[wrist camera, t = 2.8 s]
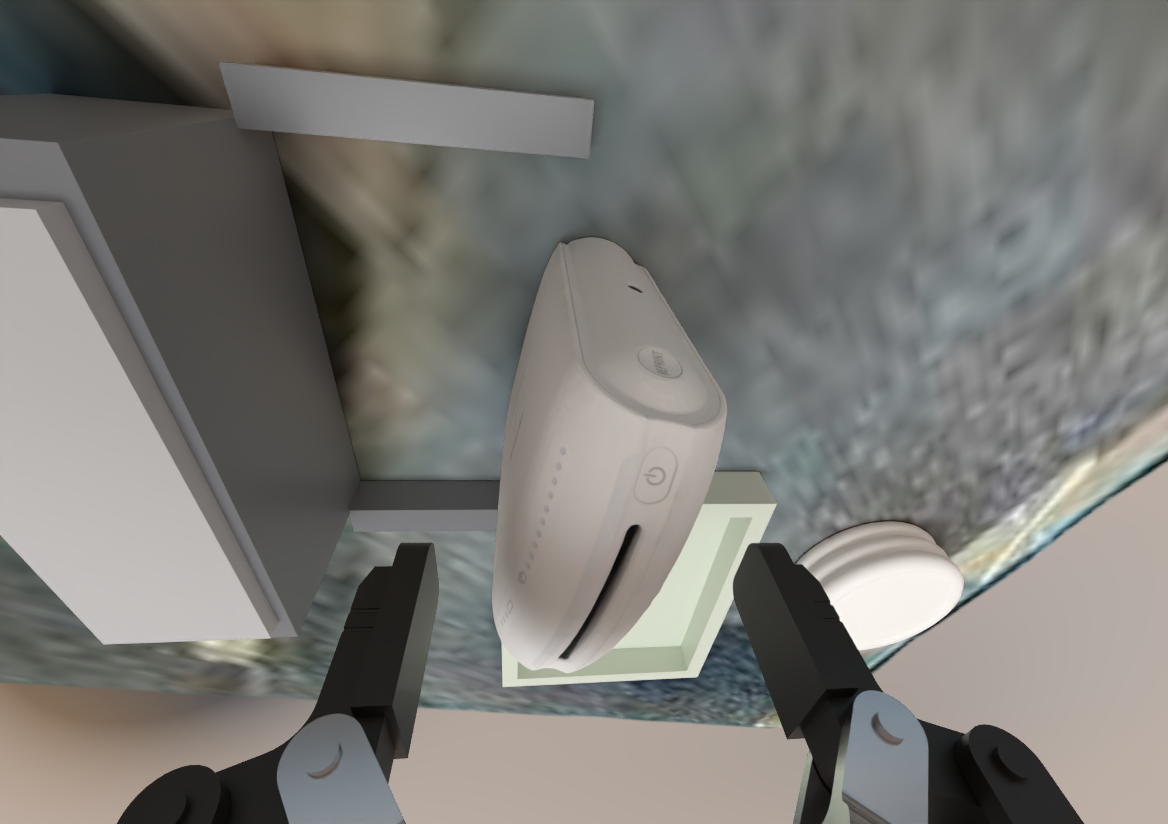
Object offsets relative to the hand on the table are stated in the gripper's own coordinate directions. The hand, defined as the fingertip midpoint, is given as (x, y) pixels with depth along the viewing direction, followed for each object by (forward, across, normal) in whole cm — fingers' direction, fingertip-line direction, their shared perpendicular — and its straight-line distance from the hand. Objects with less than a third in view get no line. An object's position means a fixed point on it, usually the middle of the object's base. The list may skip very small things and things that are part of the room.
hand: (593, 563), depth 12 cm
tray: (+11, -4, +16) cm, 19 cm away
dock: (+11, +8, 0) cm, 13 cm away
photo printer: (+11, 0, 0) cm, 11 cm away
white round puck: (+12, -21, +15) cm, 29 cm away
